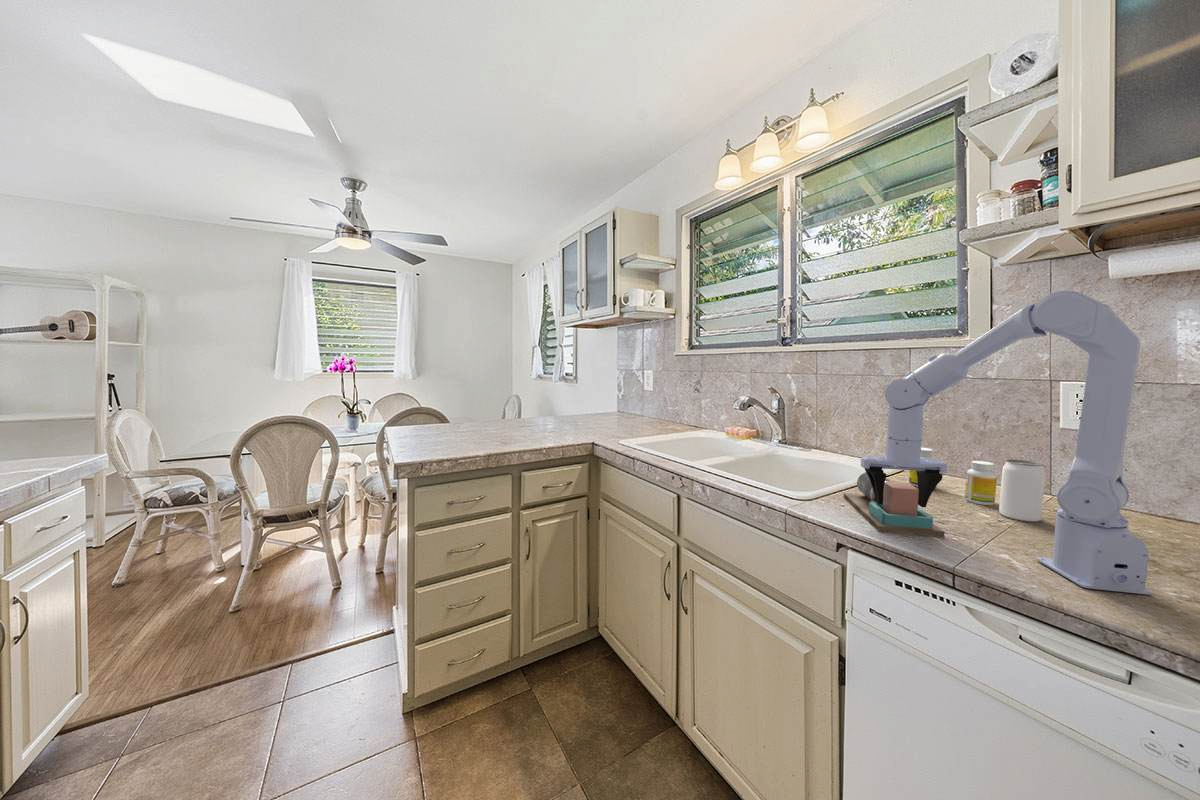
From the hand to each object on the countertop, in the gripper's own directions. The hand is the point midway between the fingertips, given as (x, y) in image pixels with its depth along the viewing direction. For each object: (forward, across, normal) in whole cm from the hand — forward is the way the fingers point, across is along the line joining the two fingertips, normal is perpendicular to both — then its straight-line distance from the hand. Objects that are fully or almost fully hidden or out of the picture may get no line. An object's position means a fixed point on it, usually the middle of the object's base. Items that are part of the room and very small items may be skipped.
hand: (899, 504), depth 87 cm
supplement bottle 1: (+4, -18, -33) cm, 38 cm away
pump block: (+3, 0, 0) cm, 3 cm away
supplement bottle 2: (+4, -25, -21) cm, 33 cm away
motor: (+3, 0, -10) cm, 11 cm away
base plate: (+4, 0, -6) cm, 7 cm away
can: (+4, -27, -11) cm, 29 cm away
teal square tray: (+4, 0, 0) cm, 4 cm away
